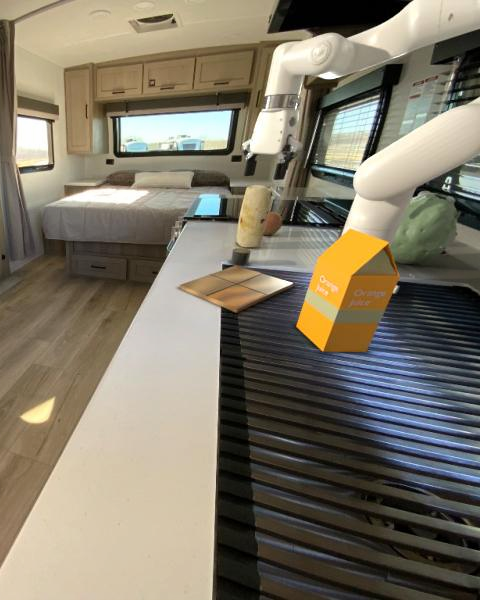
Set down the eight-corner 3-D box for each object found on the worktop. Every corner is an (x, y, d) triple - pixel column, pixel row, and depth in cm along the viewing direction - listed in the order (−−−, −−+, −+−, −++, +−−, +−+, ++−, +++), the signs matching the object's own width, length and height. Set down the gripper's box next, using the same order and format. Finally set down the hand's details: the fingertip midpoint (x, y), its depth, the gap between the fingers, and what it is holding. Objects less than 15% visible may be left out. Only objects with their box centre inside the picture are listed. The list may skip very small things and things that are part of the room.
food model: (265, 248, 113) (279, 186, 104) (251, 250, 110) (265, 188, 101) (241, 240, 121) (253, 183, 112) (228, 243, 118) (239, 184, 109)
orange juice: (334, 326, 66) (372, 228, 57) (367, 352, 58) (416, 242, 50) (294, 326, 67) (326, 228, 58) (322, 351, 59) (362, 242, 50)
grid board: (292, 286, 84) (293, 282, 83) (236, 312, 72) (237, 308, 72) (235, 268, 96) (236, 265, 95) (179, 288, 84) (179, 284, 84)
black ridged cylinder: (251, 263, 99) (254, 251, 97) (241, 267, 97) (244, 254, 95) (236, 259, 103) (239, 247, 101) (227, 262, 100) (229, 250, 99)
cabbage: (365, 264, 97) (393, 194, 88) (373, 250, 109) (398, 186, 100) (440, 278, 87) (479, 200, 78) (439, 260, 99) (473, 191, 90)
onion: (253, 242, 129) (245, 218, 126) (264, 231, 133) (257, 208, 130) (278, 238, 121) (271, 213, 118) (289, 227, 125) (282, 202, 123)
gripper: (324, 102, 76) (302, 180, 84) (262, 107, 90) (248, 174, 98) (301, 101, 74) (280, 182, 81) (240, 107, 88) (228, 175, 96)
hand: (263, 177), depth 90 cm, fingers open, 9 cm apart
